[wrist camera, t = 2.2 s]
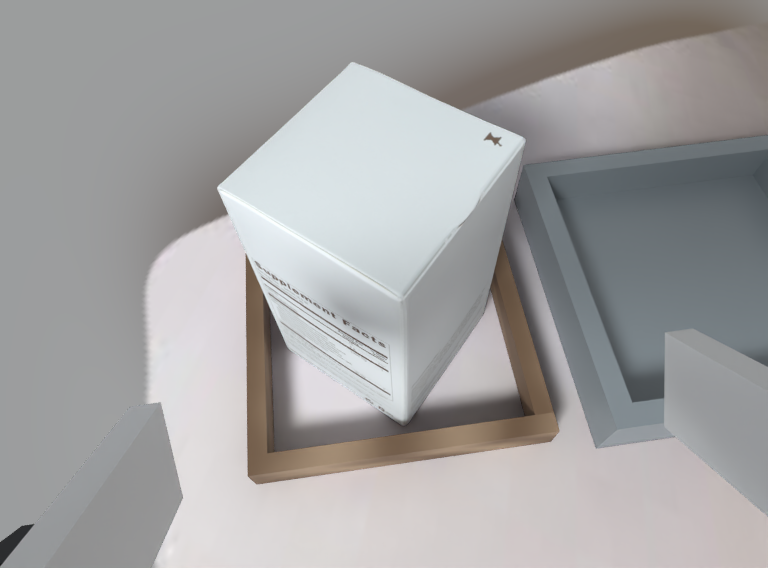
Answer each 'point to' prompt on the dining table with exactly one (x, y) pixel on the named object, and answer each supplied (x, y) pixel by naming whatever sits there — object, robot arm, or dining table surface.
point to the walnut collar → (400, 447)
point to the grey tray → (648, 267)
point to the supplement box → (376, 232)
